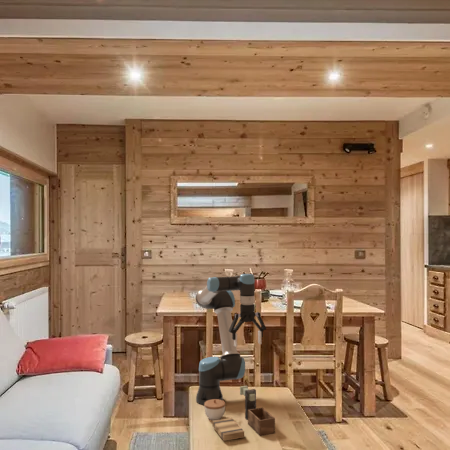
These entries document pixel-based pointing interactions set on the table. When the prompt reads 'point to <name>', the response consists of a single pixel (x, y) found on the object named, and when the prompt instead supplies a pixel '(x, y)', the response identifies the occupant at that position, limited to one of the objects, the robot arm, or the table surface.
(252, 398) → the bolt
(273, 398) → the table surface
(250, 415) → the open wooden box
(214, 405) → the lidded jar
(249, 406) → the keeper
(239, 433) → the lid
